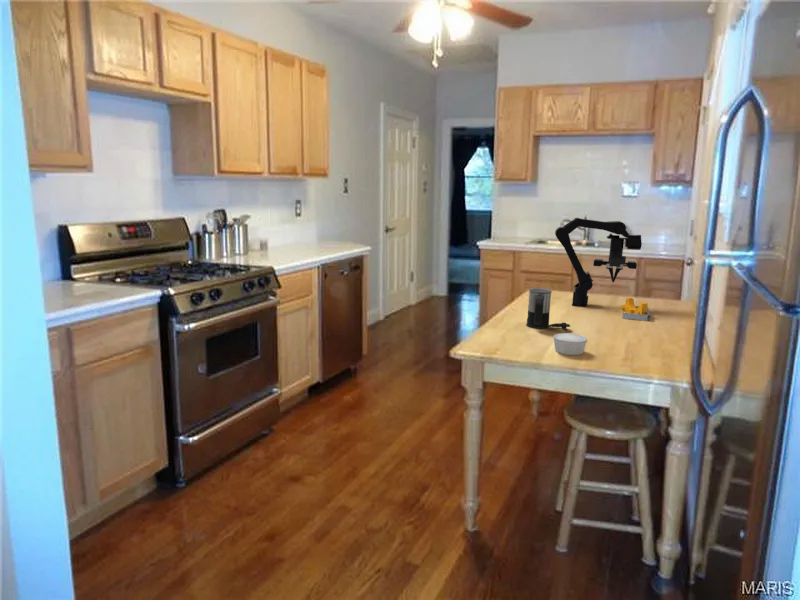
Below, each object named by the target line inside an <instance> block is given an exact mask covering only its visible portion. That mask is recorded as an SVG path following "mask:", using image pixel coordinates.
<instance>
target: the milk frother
mask: <svg viewBox="0 0 800 600" xmlns="http://www.w3.org/2000/svg"><path fill="white" fill-rule="evenodd" d="M528 291H529V292H528V306H527V308H528V309H527V318H526V326H527V327H530V328H534V329H548V328H550V327H552V328H561V330H567V328H570V327H571V324H570V323H566V322H559V323H552V324H551V323H550V314H551V313H550V310H551V301H552V300H551V299H552V292H553V290H552V289H547V288H537V287H536V288H529V289H528Z"/></svg>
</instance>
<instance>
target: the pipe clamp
mask: <svg viewBox="0 0 800 600" xmlns="http://www.w3.org/2000/svg"><path fill="white" fill-rule="evenodd" d="M648 305H649V304H648V303H647V302H640V303H639V305H638V306H639V307H638V309H637V308H636V307H635V306H636V304H635V299H634V298H633V297H626V298H625V304H622V305H621V311H622V313H624V312H625V313H634V314H644V315H647V307H648V308H649V306H648Z"/></svg>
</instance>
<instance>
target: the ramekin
mask: <svg viewBox="0 0 800 600" xmlns="http://www.w3.org/2000/svg"><path fill="white" fill-rule="evenodd" d="M552 339H553V343H554V350H555V352H557V353H558V354H561V355H566V356H580V355H582V354H583V353H584V352H585V348H586V344H587V343H588V338H587V337H585V336H583V335H580V334H576V333H569V332H568V333H557V334H554V335H553V338H552Z"/></svg>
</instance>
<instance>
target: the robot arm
mask: <svg viewBox="0 0 800 600" xmlns="http://www.w3.org/2000/svg"><path fill="white" fill-rule="evenodd" d="M577 228H586V229H587V228H588V229H594V230H602V231H606V232H609V235H607V236H606V239H608V240H610V245H609V253H608V254H609V255H608V260H607V261H606V260H604V258H594V259H593V267H601V266H605V269H606V270H608V271H609V274H610V279H611V282H612V283H615V281H616V278H617V276H618V274H619V273H620V271H621V270H622V271H623V270H624V267H627V268H628V269H631V270H636V269H637V266H638V263H637V262H636V261H632V260H627V262H626V259H627V256H624V253H623V252H624V247H625V248H626V250H633V251H634V250H635V251H640V250H641V249H642V244H643V243H642V235H641V234H629V232H628V231H627V226H626V224H625V223H624V222H622V221H620V220H611V221H601V220H595V219H587V218H580V217H574V218H573V219H572V220H571V221H569V222H568V223H565V224H564V225H563V226H558V227H557V228H556V229H555V231H554V234H555V238H556V239H557V240H558V241H559V243H560V244H561V245H562V247H563V248H564V250H565V252H566V255H567V256H568V259H569V261H570V263H571V266H572V268H573V270H574V271H575V274H576V278H577V283H576V284H574V286H573V288H574V289H573V293H572V303H571V306H573V307H582V306H583V307H585V308H586V307H587V306H588V304H589V303H588V302H589V295H588V291H590V290H591V289H592V287H593V286H594V285H593V284H594V283H593V281H594V280H593V278H592V276H591V274H590V272H589V271H587V272H586V271H585V270H584V268H583V265H582V264H581V262H580V259H579V257H578V255H577V253H576V252H575V251H576V250H575V249H574V247H573V245H572V241H571V238H570V234H571V233H572V232H574V230H576V229H577ZM614 234H615V235H614ZM620 236H622V237H620ZM614 267H615V271H614Z"/></svg>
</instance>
